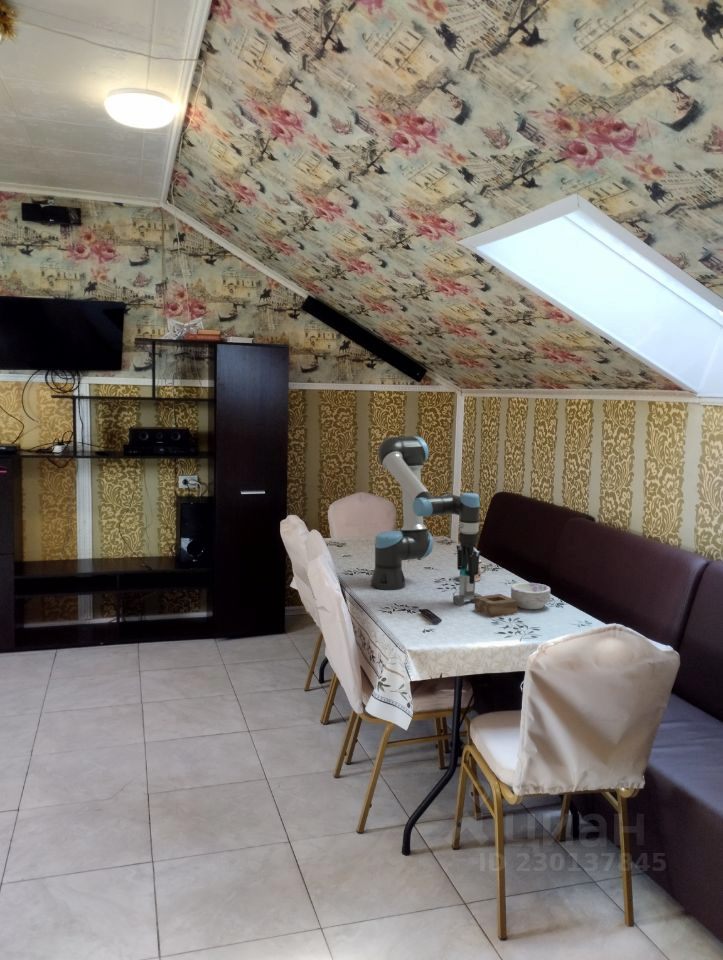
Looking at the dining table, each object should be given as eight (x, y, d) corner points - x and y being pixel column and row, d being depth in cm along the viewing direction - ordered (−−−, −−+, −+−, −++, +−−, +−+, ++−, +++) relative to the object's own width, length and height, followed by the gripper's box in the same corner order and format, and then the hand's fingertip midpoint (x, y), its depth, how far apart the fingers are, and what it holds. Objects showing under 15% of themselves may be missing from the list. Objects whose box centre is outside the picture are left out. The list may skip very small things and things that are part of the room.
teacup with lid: (465, 582, 336) (466, 556, 335) (457, 577, 345) (458, 552, 343) (490, 581, 339) (491, 555, 338) (482, 576, 348) (482, 551, 347)
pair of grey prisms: (452, 603, 303) (453, 595, 302) (475, 600, 307) (475, 592, 307) (458, 605, 299) (458, 598, 299) (481, 602, 304) (481, 595, 304)
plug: (459, 598, 304) (459, 568, 302) (469, 596, 306) (470, 567, 305) (463, 600, 301) (464, 570, 299) (474, 598, 303) (475, 569, 301)
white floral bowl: (503, 606, 298) (503, 587, 297) (522, 599, 310) (523, 580, 309) (538, 614, 288) (538, 594, 287) (556, 606, 300) (557, 586, 299)
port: (474, 609, 294) (474, 597, 293) (499, 606, 299) (500, 593, 298) (491, 617, 284) (491, 604, 283) (517, 613, 289) (517, 600, 288)
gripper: (449, 529, 306) (447, 585, 309) (473, 536, 291) (471, 596, 294) (464, 527, 309) (463, 583, 312) (489, 535, 294) (486, 593, 297)
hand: (466, 589), depth 303 cm, fingers closed on plug, 3 cm apart
